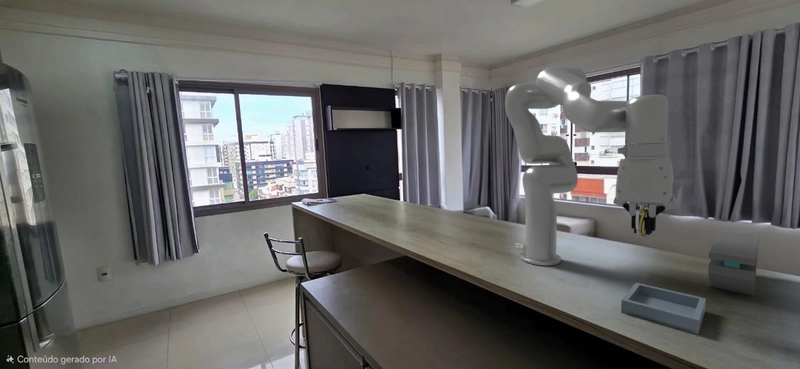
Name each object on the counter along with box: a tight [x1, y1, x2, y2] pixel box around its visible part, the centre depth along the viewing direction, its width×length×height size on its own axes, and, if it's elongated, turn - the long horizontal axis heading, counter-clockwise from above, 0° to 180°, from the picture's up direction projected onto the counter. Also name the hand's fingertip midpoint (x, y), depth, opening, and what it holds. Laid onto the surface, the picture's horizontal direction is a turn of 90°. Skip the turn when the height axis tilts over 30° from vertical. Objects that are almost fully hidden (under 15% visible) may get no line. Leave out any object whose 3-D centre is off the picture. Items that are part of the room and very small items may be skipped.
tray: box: [620, 282, 707, 336], centre depth 74 cm, size 13×13×3 cm
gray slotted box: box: [707, 232, 760, 297], centre depth 86 cm, size 25×8×11 cm, turn 132°
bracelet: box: [636, 203, 649, 239], centre depth 75 cm, size 7×3×8 cm, turn 126°
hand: (643, 232), depth 75 cm, fingers closed on bracelet, 1 cm apart
